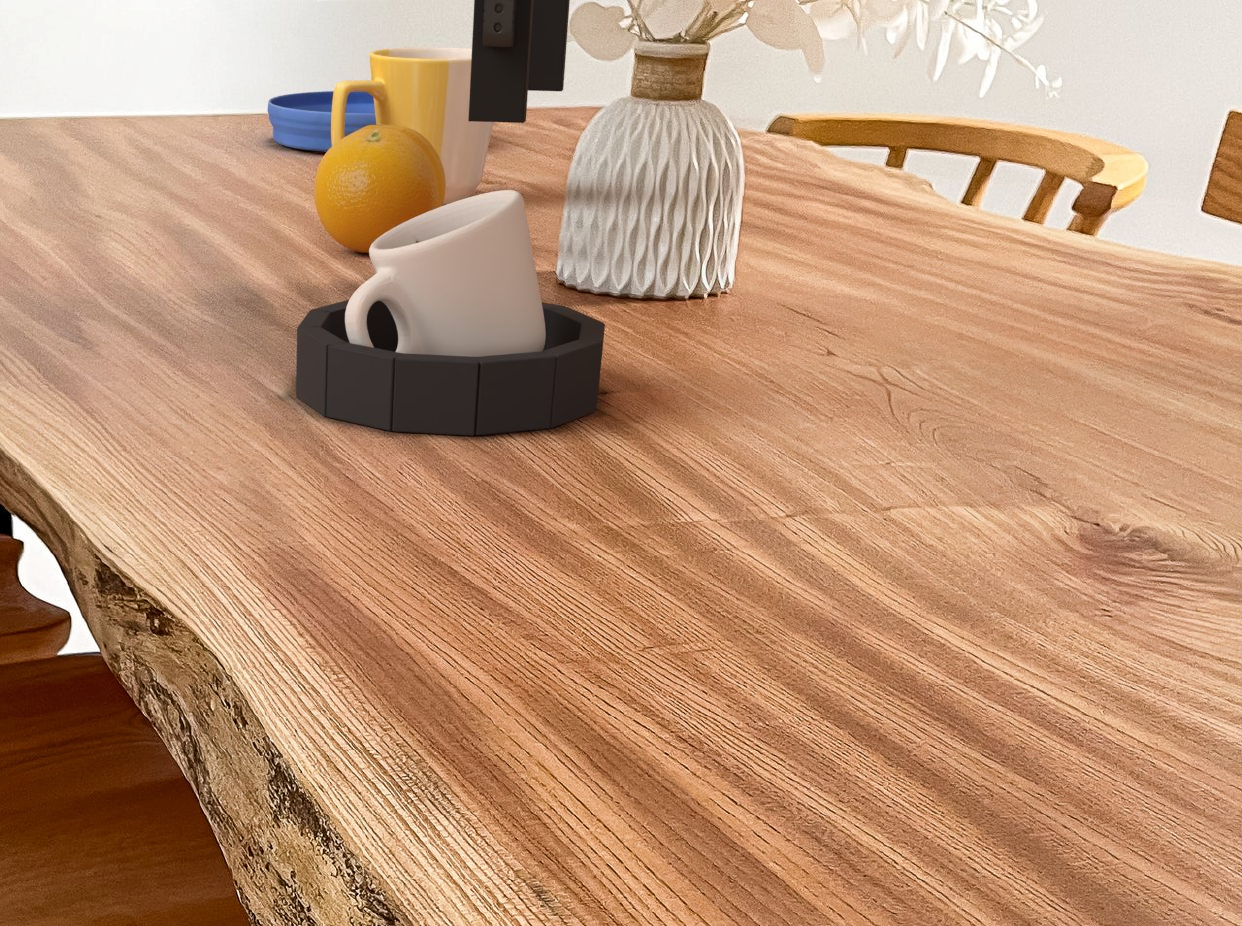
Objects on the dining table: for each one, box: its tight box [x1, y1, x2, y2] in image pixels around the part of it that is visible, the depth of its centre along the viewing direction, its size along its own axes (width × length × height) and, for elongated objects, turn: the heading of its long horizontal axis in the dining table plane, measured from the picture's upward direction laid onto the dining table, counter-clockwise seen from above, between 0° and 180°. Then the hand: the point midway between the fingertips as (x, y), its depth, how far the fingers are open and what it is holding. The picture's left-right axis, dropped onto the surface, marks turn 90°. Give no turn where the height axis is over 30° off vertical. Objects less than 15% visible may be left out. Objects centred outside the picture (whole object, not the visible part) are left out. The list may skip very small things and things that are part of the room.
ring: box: [295, 299, 606, 437], centre depth 100 cm, size 15×15×4 cm
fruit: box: [314, 125, 446, 254], centre depth 132 cm, size 9×8×8 cm
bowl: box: [267, 90, 377, 153], centre depth 177 cm, size 18×18×4 cm
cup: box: [345, 189, 546, 357], centre depth 98 cm, size 11×8×8 cm
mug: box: [331, 46, 494, 206], centre depth 149 cm, size 14×10×10 cm
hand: (518, 105), depth 100 cm, fingers open, 13 cm apart
